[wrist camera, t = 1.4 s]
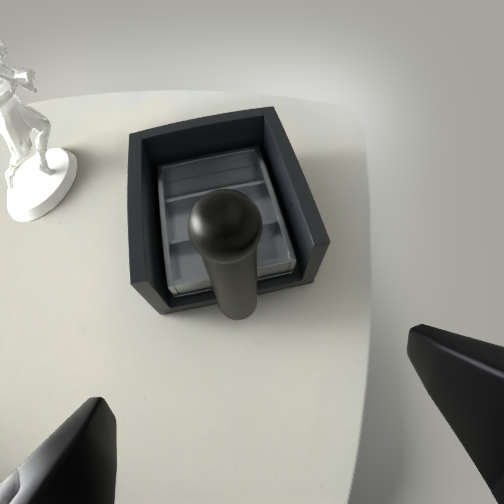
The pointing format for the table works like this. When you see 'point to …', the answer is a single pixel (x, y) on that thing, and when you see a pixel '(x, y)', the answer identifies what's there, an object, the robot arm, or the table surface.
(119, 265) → the table surface
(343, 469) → the table surface
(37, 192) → the figurine
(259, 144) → the grey drawer case
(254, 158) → the pull-out drawer
